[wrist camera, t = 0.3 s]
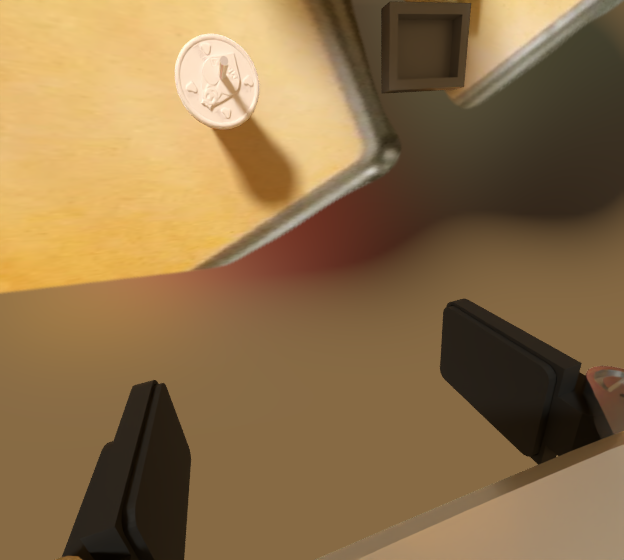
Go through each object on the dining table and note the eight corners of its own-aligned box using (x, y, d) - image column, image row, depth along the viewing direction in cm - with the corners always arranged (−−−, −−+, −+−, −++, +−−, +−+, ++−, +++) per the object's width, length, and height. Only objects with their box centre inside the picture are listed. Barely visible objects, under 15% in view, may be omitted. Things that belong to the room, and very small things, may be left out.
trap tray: (381, 8, 34) (389, 1, 33) (459, 10, 37) (470, 3, 35) (381, 93, 37) (389, 90, 36) (453, 89, 40) (463, 86, 38)
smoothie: (259, 94, 34) (286, 57, 21) (229, 148, 35) (239, 143, 22) (202, 50, 31) (196, -21, 19) (172, 110, 32) (147, 80, 20)
